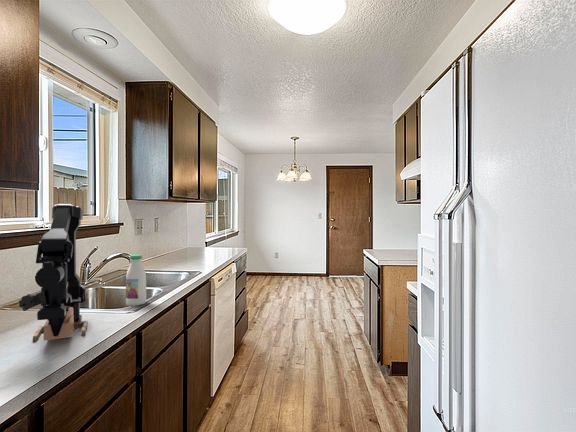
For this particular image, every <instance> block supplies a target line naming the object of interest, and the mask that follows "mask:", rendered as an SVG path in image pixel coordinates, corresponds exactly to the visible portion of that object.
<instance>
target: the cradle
mask: <svg viewBox="0 0 576 432" xmlns="http://www.w3.org/2000/svg"><path fill="white" fill-rule="evenodd" d="M78 328H81V331H80V332H81V336H86V333H87V329H88V321H77V322H74V329H78ZM42 333H44V325H40V326H38V328H37V329H36V330H35V332H34V334H33V336H32V342H37V341H38V340H39V338H40V336H41V335H42Z"/></svg>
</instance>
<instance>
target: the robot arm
mask: <svg viewBox="0 0 576 432" xmlns="http://www.w3.org/2000/svg"><path fill="white" fill-rule="evenodd" d="M51 210H52V211H51V219H52V223H51V224H50V225H51V226H50V230H49V231H48V232H45V233H43V236H42V237H41V239H40V241H39V242H38V245H37V252H36V256H35V257H36V259H35V264H42V265H41V268H40V269H39V270H37V272H36V273H35V276H34V280H35V283H36V285H37V286H38V287H41V289H40V290H37V291H36V292H33V293H27V294H26V295H22V296H21V297H20V298H19V300H18V304H19V305H18V306H19V307H20V308H21V309H22V311H23V312H26V311H28V310H29V309H32V308H33V307H37V306H38V305H39V306H40V307H41V308H40V309H39V310H38V311H37V312H36V315H37V316H36V317H37V318H36V320H37V321H47V320H48V321H49V323H50V326H51V329H52V333H53V336H58V335H59V332H60V330H61V327H62V325H63V322H64V320H65V318H66V315H67V313H68V310H69V307H73V315H74V323H77V322H81V320H82V317H83V316H82V315H81V312H80V307H81V306H80V304H83V303H85V302H86V301H87V293H86V289H85V288H84V285H82V279H81V277H80V276H79V275H78V274H77V250H76V249H77V247H76V246H77V244H76V243H77V239H76V237H77V235H76V234H77V230H78V228H79V227H80V225H81V224H82V223H81V222H82V221H83V216H84V213H83V209H82V208H81V207H79V206H78V205H77V206H76V205H73V204H71V203H58V204H54V206H53V207H52V208H51ZM65 306H67V307H65Z"/></svg>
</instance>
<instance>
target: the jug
mask: <svg viewBox="0 0 576 432" xmlns="http://www.w3.org/2000/svg"><path fill="white" fill-rule="evenodd" d="M65 307H67V306H65ZM74 323H75V322H74V315H73V307H69V310H68V313H67V315H66V318H65V320H64V322H63V325H62V327H61V330H60V332H59V335H58V336H53V333H52V329H51V326H50V323H49V321H48V320H47V319H46V320H45V323H44V325H43V326H44V332H43V341H51V340H57V339H65V338H66V339H67V338H72V337H73V335H74V332H75V331H74V329H75V328H74Z"/></svg>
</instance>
